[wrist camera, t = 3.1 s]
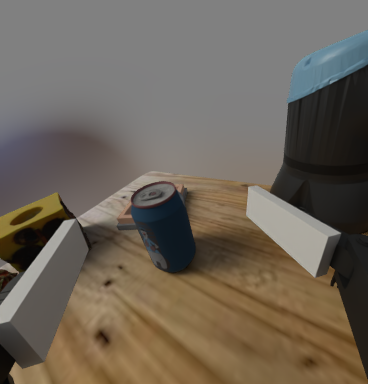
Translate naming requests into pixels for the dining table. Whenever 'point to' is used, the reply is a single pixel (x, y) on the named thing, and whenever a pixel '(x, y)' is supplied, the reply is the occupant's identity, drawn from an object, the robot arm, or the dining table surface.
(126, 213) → the coaster
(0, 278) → the red brown scaly oval
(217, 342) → the dining table surface
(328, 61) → the robot arm
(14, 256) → the yellow black cube
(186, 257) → the soda can
